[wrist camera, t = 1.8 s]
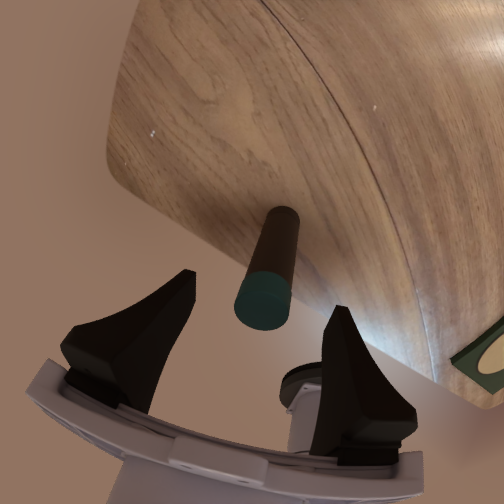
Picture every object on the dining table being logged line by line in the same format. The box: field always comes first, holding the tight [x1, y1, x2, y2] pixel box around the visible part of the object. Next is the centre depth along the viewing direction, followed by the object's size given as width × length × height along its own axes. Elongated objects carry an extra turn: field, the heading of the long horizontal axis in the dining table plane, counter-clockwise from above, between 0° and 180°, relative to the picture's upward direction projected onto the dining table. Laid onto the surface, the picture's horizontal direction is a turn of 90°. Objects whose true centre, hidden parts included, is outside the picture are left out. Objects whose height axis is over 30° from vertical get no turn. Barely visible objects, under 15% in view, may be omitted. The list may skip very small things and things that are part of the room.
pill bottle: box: [234, 206, 300, 331], centre depth 17 cm, size 3×3×10 cm
